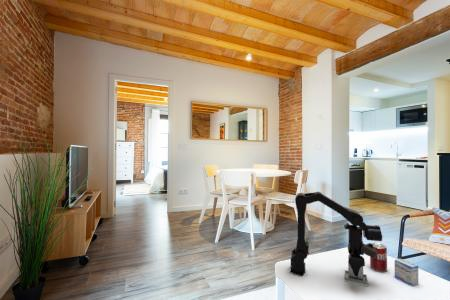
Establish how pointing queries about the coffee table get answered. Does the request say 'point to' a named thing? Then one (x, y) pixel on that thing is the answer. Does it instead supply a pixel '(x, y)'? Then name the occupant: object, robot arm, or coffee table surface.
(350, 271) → the billet
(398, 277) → the medicine box
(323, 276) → the coffee table surface
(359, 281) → the grey green tray
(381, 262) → the soda can
